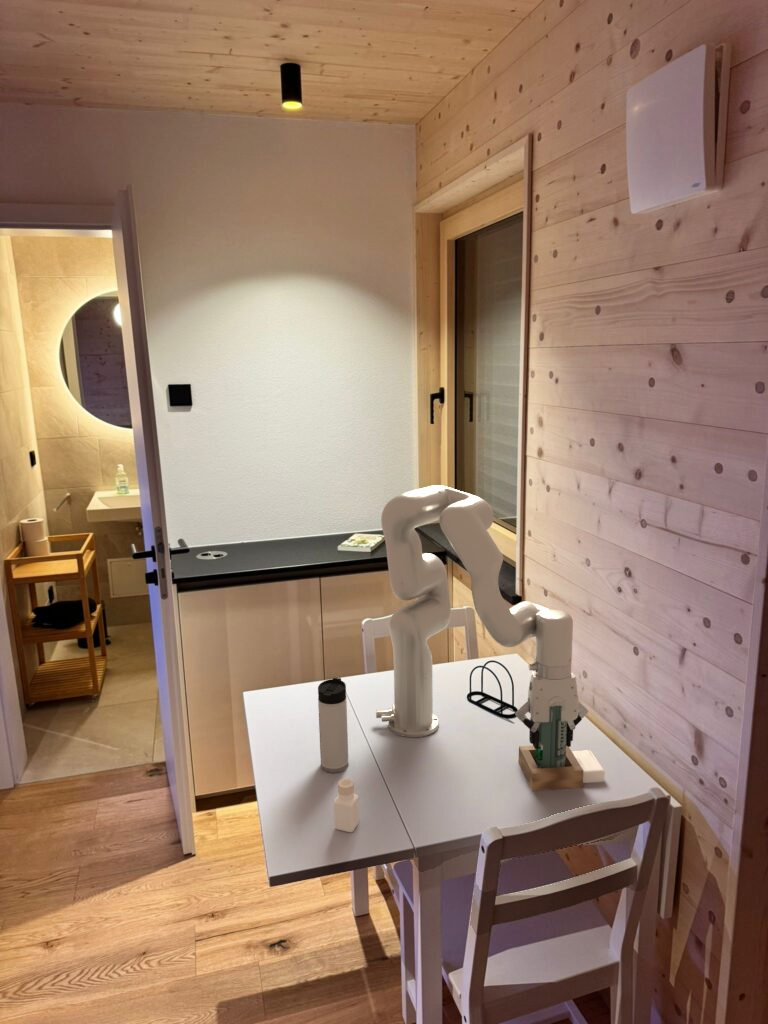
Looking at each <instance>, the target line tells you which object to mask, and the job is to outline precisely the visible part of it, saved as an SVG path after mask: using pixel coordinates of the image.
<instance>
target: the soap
mask: <svg viewBox="0 0 768 1024" xmlns="http://www.w3.org/2000/svg"><path fill="white" fill-rule="evenodd" d="M571 751H572V753H573V754H574V756H575V758H576V759H577V761H578V762H579V764H580V766H581V767H582V769H583V770H584V771H583V784H590V783H592V784H593V783H603V782H604V781H605V774H606V772H605V769H604V768H603V766H602V765H601V764H600V762H599V761H598V759H597V758H596V756H595V755H594V753H593V752H592V751H591V750H590V749H585V750H584V749H583V750H574V751H573V750H571Z"/></svg>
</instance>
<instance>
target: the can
mask: <svg viewBox="0 0 768 1024" xmlns="http://www.w3.org/2000/svg"><path fill="white" fill-rule="evenodd" d="M561 709H562V706H556V707H552V706H551V707H550V710H549V722H547V723H540V724H539V726H538V728H537V730H538V732H539V748H538V749H536V764H537V767H538V768H555V767H565V766H566V737H567V721H561V711H562V710H561ZM563 710H564V709H563ZM551 716H552V722H551Z"/></svg>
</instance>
